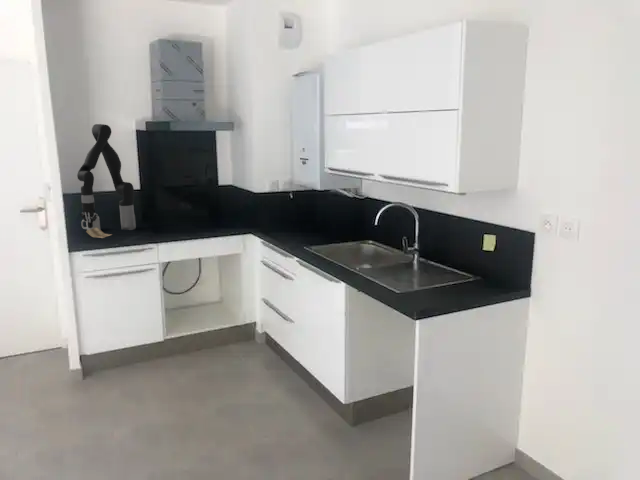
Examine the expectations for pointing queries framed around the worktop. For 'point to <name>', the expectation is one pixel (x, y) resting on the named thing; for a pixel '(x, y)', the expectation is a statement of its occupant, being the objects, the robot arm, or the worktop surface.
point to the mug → (95, 224)
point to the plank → (95, 232)
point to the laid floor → (104, 235)
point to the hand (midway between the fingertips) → (90, 227)
